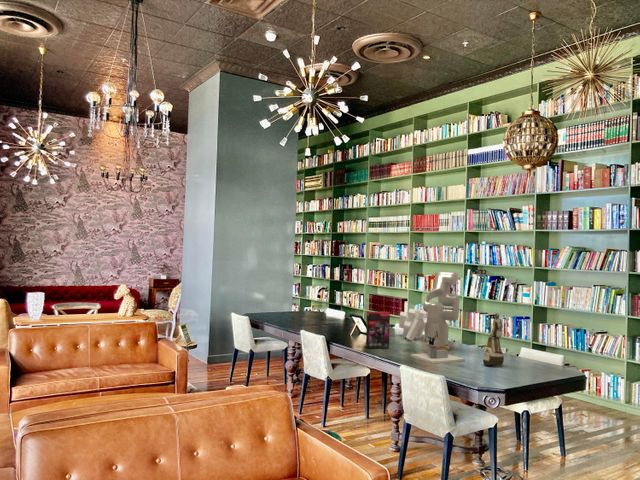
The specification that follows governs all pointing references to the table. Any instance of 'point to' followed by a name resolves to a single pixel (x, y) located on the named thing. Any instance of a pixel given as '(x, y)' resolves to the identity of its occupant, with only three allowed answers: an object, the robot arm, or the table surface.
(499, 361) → the statue
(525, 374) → the table surface
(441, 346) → the bar
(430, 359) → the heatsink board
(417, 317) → the pile of blocks
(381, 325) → the graphics card box
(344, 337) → the table surface
